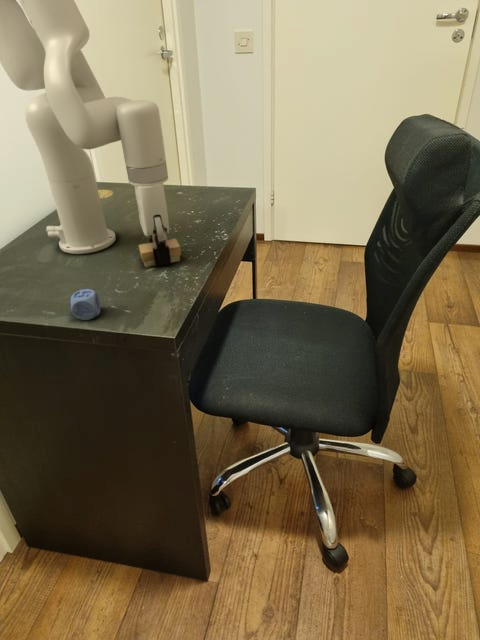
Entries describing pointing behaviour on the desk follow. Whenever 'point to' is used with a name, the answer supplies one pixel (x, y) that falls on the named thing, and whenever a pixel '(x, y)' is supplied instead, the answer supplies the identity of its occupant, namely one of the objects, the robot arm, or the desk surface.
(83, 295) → the decorative dice
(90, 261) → the desk surface
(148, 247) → the tan rectangular brick
